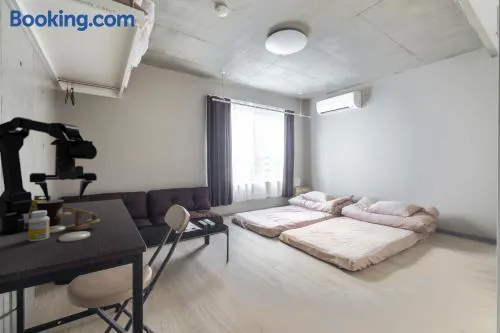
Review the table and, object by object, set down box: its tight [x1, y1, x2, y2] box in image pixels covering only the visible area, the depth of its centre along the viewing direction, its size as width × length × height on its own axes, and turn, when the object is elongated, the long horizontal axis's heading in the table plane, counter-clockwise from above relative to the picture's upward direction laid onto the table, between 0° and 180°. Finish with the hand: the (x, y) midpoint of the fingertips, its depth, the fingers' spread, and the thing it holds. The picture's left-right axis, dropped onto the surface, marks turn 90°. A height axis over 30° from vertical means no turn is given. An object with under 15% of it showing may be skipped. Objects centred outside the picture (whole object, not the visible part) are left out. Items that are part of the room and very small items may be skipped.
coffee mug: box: [37, 199, 64, 227], centre depth 98 cm, size 12×9×10 cm
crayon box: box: [28, 195, 52, 220], centre depth 100 cm, size 7×3×12 cm, turn 93°
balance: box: [56, 205, 101, 231], centre depth 93 cm, size 17×5×9 cm, turn 91°
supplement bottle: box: [28, 210, 51, 242], centre depth 80 cm, size 5×5×10 cm
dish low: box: [58, 230, 91, 243], centre depth 82 cm, size 9×9×1 cm
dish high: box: [49, 225, 66, 234], centre depth 89 cm, size 7×7×1 cm
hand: (64, 200), depth 83 cm, fingers open, 9 cm apart
